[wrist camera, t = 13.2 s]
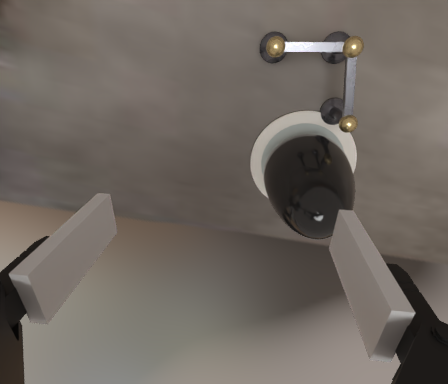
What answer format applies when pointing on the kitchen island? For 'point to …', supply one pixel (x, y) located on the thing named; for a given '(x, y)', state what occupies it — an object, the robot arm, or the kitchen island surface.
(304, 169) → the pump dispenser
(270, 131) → the coaster
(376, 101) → the kitchen island surface
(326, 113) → the metal corner railing
